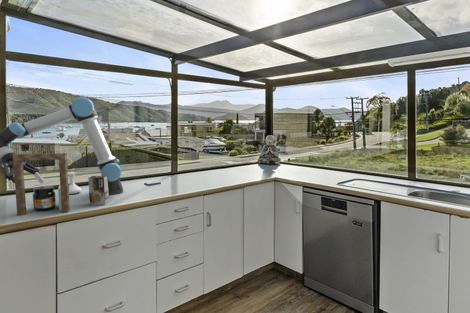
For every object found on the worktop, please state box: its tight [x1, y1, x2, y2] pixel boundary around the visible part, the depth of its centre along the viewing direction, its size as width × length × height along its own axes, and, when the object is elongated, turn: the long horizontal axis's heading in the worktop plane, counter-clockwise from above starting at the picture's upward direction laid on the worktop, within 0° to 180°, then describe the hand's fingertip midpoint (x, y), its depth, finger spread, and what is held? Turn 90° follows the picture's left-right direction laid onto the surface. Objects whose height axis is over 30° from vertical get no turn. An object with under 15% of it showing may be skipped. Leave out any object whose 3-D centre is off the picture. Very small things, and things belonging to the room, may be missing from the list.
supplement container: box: [32, 185, 57, 212], centre depth 164 cm, size 10×10×12 cm
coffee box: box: [87, 175, 110, 206], centre depth 176 cm, size 9×6×16 cm
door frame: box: [13, 152, 71, 216], centre depth 156 cm, size 24×3×31 cm, turn 104°
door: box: [57, 184, 62, 212], centre depth 166 cm, size 15×3×12 cm, turn 27°
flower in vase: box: [67, 156, 83, 195], centre depth 203 cm, size 13×11×25 cm
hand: (32, 184), depth 165 cm, fingers open, 13 cm apart
